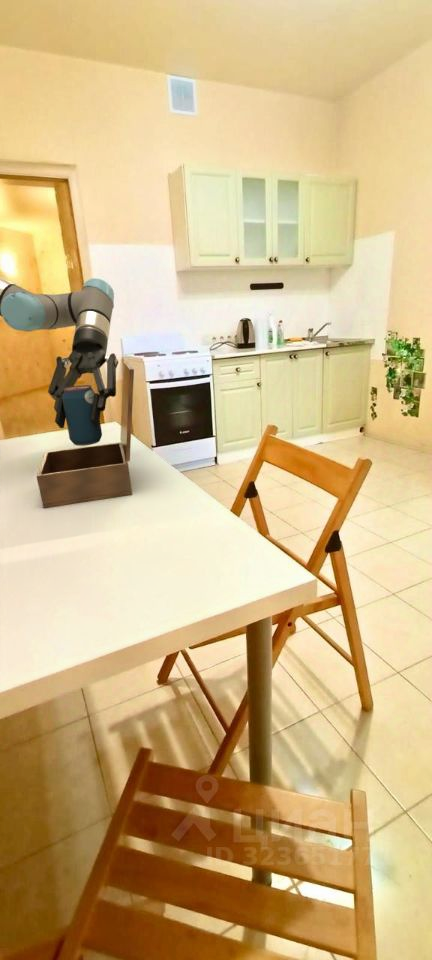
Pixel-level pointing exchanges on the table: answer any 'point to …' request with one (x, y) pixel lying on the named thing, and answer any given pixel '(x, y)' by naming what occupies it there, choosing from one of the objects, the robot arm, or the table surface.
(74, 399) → the soda can
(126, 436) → the lid
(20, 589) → the table surface
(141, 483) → the table surface
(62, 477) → the brown wooden open box
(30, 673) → the table surface
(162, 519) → the table surface
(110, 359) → the robot arm
